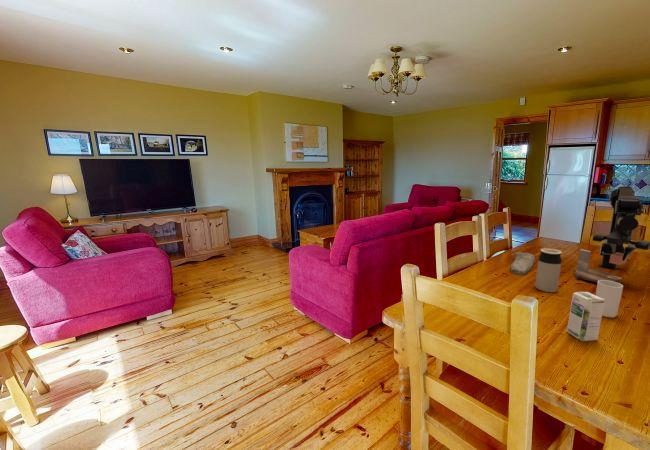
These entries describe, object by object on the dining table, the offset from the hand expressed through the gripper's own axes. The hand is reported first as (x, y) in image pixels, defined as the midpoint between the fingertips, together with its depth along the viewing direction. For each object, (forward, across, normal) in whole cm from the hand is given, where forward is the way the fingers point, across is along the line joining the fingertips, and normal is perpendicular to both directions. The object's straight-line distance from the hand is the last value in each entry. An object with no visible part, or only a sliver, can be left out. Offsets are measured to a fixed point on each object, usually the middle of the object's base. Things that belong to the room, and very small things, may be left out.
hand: (617, 259), depth 133 cm
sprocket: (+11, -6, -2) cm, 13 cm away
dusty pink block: (+2, 0, 0) cm, 2 cm away
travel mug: (+12, -11, -33) cm, 37 cm away
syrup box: (+12, +15, -62) cm, 65 cm away
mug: (+12, +11, -36) cm, 40 cm away
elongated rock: (+12, -34, -11) cm, 38 cm away
